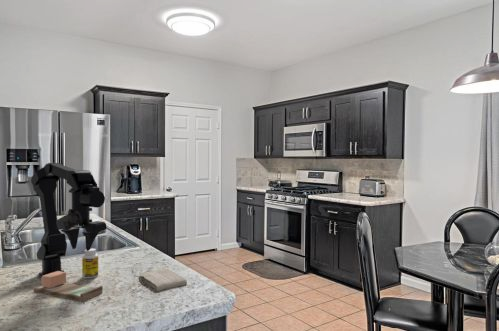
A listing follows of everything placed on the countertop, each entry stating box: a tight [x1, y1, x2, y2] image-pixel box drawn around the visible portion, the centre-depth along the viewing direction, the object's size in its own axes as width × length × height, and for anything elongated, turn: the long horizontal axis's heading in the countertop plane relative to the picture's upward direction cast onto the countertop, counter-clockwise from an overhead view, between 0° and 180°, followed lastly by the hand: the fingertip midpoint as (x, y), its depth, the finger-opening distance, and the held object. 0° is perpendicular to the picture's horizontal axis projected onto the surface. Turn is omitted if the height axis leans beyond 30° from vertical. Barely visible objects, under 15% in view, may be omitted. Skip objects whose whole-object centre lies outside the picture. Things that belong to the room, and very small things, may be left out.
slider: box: [41, 271, 67, 288], centre depth 123 cm, size 4×6×4 cm, turn 157°
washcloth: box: [138, 267, 188, 292], centre depth 131 cm, size 12×18×3 cm, turn 39°
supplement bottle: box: [81, 248, 99, 279], centre depth 136 cm, size 6×6×10 cm
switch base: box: [33, 282, 104, 302], centre depth 120 cm, size 22×8×2 cm, turn 67°
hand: (81, 249), depth 129 cm, fingers open, 6 cm apart
